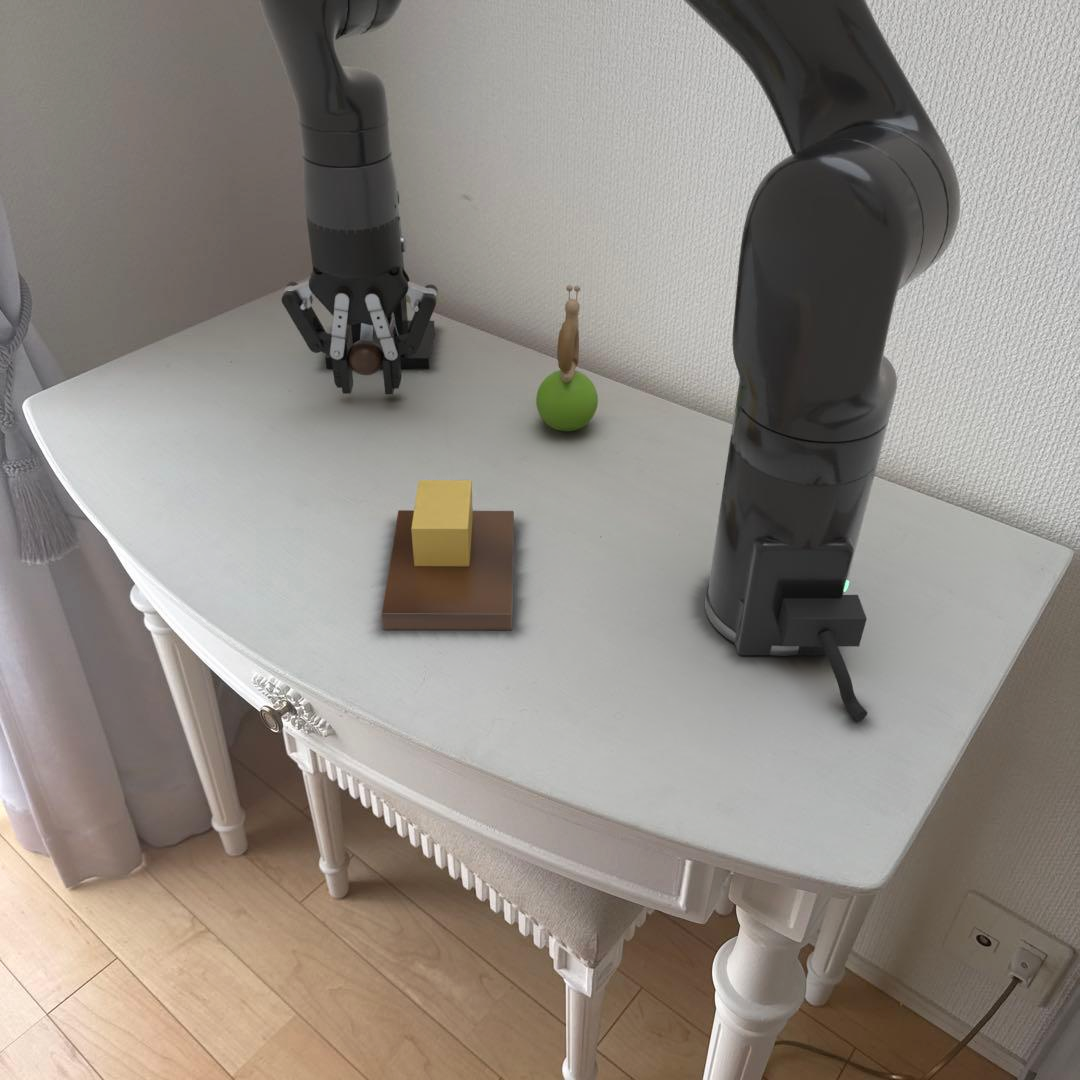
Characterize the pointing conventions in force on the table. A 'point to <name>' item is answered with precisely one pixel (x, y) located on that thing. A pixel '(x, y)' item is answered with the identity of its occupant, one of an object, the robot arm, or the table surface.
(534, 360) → the table surface
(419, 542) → the butter
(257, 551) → the table surface
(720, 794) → the table surface
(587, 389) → the snail figurine
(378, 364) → the brown knob lever
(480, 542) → the board
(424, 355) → the slicer bracket
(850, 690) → the robot arm
